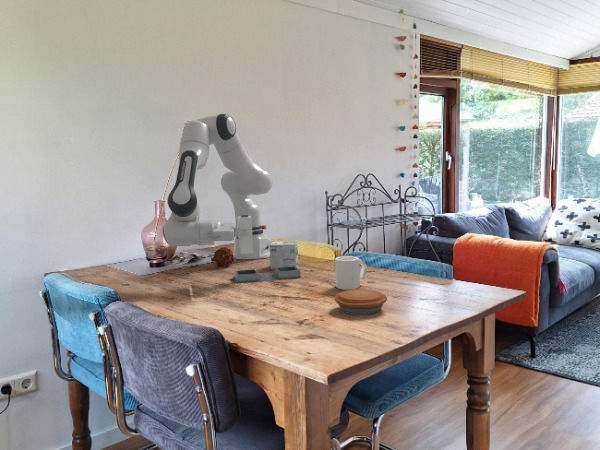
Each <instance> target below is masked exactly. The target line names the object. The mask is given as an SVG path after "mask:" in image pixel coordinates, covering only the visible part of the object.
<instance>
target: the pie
mask: <svg viewBox="0 0 600 450" xmlns="http://www.w3.org/2000/svg"><path fill="white" fill-rule="evenodd" d="M333 299H334V301H335V302H336V304H338V306H339V308H340V309H341V311H343V313H346V314H350V315H371V314H372V315H373V314H375V313H379V311H380V310H381V309H382V308H383V306H384V304H385V303H386V302H387V300H388V297H387V295H385V294H383V293H382V292H380V291H378V290H372V289H364V288H363V289H361V288H360V289H359V288H356V289H348V290H343V291H341V292H340V293H338V294H336V295H335V296H334V297H333Z"/></svg>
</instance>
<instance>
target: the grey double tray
mask: <svg viewBox="0 0 600 450" xmlns="http://www.w3.org/2000/svg"><path fill="white" fill-rule="evenodd" d="M273 271H274V272H271V273H260V272H259V271H258V270H257V269H256V268H253V269H243V270H242V269H241V270H234V272H233V273H234V276H233V275H232V278H233V280H234V282H235V283H236V285H237V284H247V283H248V284H250V283H260V282H261V283H262V282H274V281H282V280H283V281H285V280H287V281H288V280H297V279H303V276H301V270H300V269H299V267H298V268H297V267H296V266H290V267H277V268H274V269H273Z"/></svg>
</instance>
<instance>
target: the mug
mask: <svg viewBox="0 0 600 450" xmlns="http://www.w3.org/2000/svg"><path fill="white" fill-rule="evenodd" d="M360 265H361V269H360ZM334 270H335V273H334V274H335V275H334V278H335V285H334V286H335V287H336V288H337V289H340V290H343V291H347V290H356V289H359V288H360V287H361V279H362V280H364V279H366V274H367V270H368V265H367V264H366V262H365V261H364V260H362V259H360V258H359V257H358V256H351V255H349V256H348V255H346V256H345V255H343V256H338V257H334Z"/></svg>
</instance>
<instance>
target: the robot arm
mask: <svg viewBox="0 0 600 450" xmlns="http://www.w3.org/2000/svg"><path fill="white" fill-rule="evenodd" d="M184 125H185V126H184V127H183V130H182V134H181V138H180V141H179V142H180V143H179V149H178V151H179V152H178V161H179V162H178V163H179V165H178V168H177V173H176V174H177V175H176V181H175V183H174V185H173V187H172V189H171V191H170V192H169V194H168V197H167V205H168V208H169V210H170V211H171V214H170V215H169V217H168V219H167V220H166V222H165V223H164V224H163V225H162V235H163V238H164V240H165V242H166V244H167V245H169V246H174V247H190V246H194V245H196V246H197V245H198V246H214V245H215V243H216V242H233V241H234V247H233V255H234V259H237V260H257V259H268V258H270V244H271V243H272V242H273V240H272V239H271V238H270V237H269V236H268V235H266V234H265V233H264V231H266V230H267V228H268V227H267V225H266V224H264V225H263V224H261V210H260V207H259V205H258V204H256V203H255V202H254V201H253V199H252V197H251V196H260V195H264V194H268V193H269V192H270V191H271V189H272V186H273V178H272V176H271V174H270V173H269V172H268V171H266V170H264V169H262V168H261V167H260V166H258V165H257V164H256V163H255V162H254V161H253V159H251V157H250V156H249V155H248V153H247V151H246V148H245V146H244V144H243V142H242V140H241V138H240V136H239V134H238V133H237V126H236V122H235V120H234V118H233V117H232V116H231V115H230V114H227V113H219V114H216V115H215V114H214V115H208V116H205V117H201V118H198V119H195V120H191V121H189V122H187V123H186V124H184ZM210 145H214V147H215V150H216V152H217V154H218V156H219V159H220V160H221V163H222V164H223V166H224V167H225V168H226V169H227V170H229V171H227V172H225V173H223V175H222V177H221V179H220V186H221V189H222V190H223V192H225V193H226V194H227V196H228V197H229V199H230V201H231V203H232V206H233V209H234V218H235V223H233V222H216V221H215V220H213V219H212V220H200V217H201V209H200V206H199V203H198V197H197V194H196V191H195V189H194V188H195V180H196V175H197V171H198V170H201V169H203V168H204V167H206V165H207V163H208V159H209V152H210ZM242 214H248V216H251V217H252V237H253V253H248V254H240V252H239V238H238V236H242V235H247V234H248V233H247V230H238V217H239V216H241V215H242Z"/></svg>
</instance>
